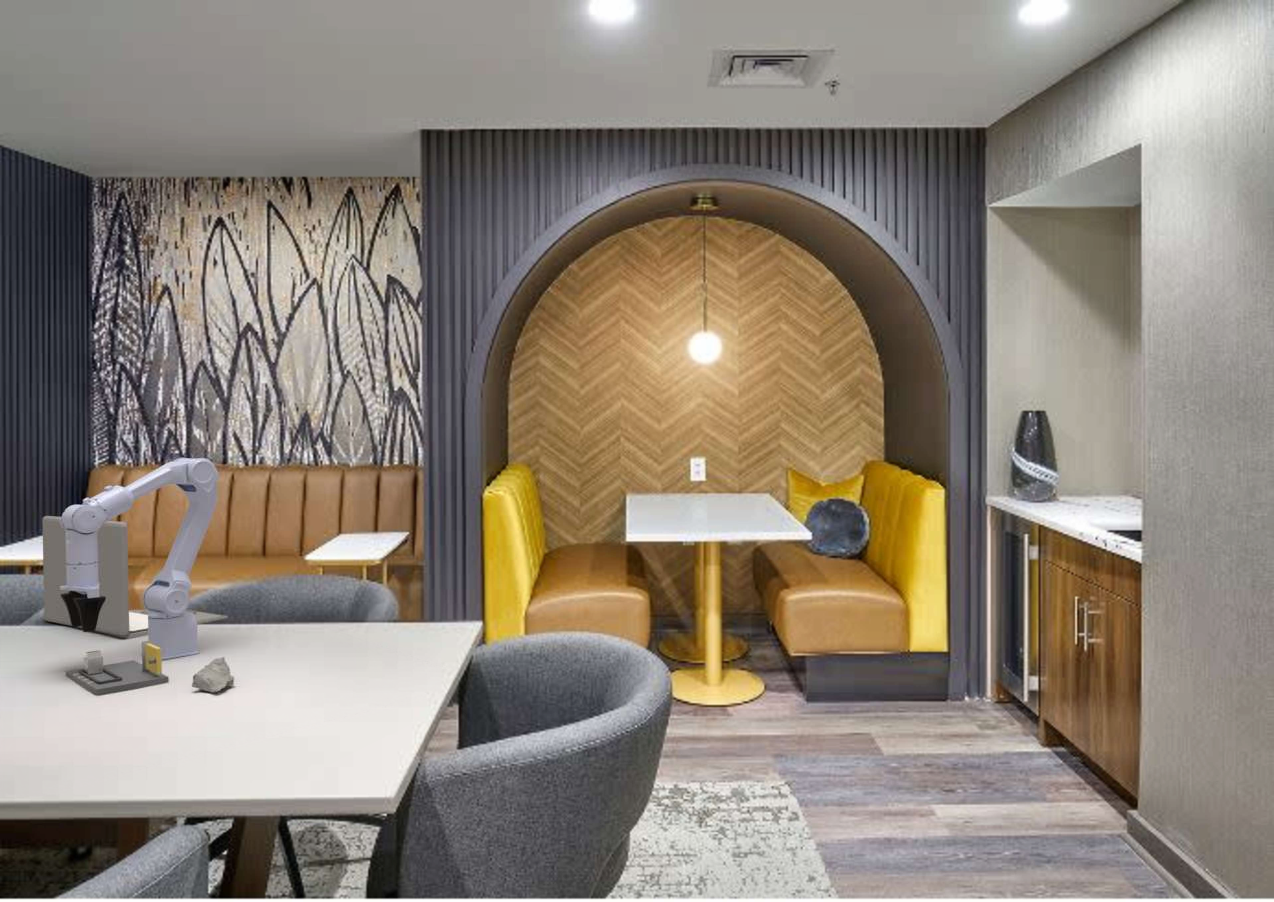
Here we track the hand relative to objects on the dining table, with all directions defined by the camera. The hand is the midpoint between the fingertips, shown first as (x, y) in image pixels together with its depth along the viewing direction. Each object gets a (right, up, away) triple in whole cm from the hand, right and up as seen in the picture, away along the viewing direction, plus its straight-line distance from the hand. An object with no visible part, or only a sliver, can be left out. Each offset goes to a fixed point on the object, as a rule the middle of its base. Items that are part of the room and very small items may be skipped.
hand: (83, 628), depth 203 cm
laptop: (-14, -9, +48) cm, 51 cm away
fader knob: (+4, -8, -4) cm, 10 cm away
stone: (+29, -11, -6) cm, 32 cm away
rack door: (+17, -7, -6) cm, 19 cm away
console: (+9, -9, -5) cm, 14 cm away
